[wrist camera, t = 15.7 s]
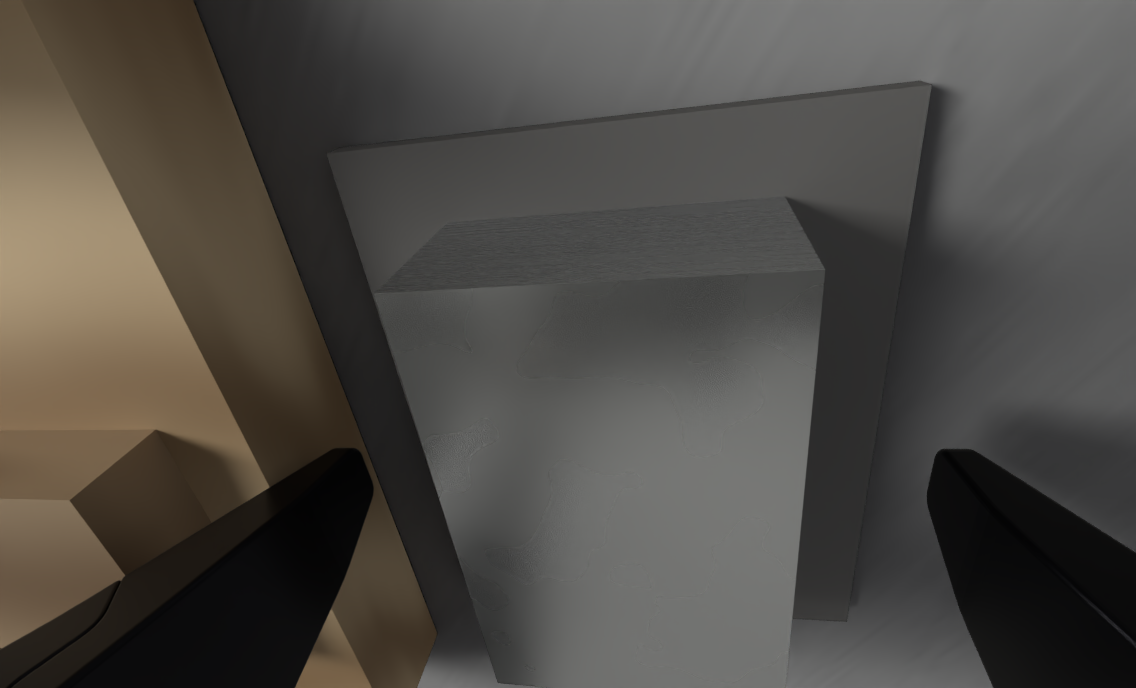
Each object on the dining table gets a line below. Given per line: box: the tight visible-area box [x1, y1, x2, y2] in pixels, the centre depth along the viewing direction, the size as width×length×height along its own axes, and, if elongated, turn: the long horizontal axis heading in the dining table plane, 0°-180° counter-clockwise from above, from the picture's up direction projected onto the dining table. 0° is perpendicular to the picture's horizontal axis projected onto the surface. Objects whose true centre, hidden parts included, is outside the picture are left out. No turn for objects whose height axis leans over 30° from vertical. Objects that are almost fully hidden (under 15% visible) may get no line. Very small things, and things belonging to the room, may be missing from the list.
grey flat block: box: [374, 196, 825, 688], centre depth 9 cm, size 8×5×2 cm, turn 8°
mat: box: [326, 81, 932, 622], centre depth 10 cm, size 10×8×1 cm
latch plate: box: [0, 0, 437, 688], centre depth 10 cm, size 17×7×4 cm, turn 8°
